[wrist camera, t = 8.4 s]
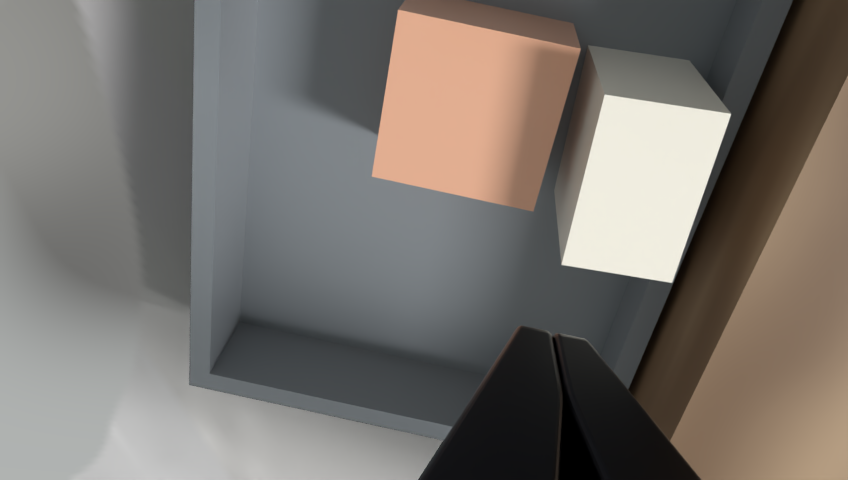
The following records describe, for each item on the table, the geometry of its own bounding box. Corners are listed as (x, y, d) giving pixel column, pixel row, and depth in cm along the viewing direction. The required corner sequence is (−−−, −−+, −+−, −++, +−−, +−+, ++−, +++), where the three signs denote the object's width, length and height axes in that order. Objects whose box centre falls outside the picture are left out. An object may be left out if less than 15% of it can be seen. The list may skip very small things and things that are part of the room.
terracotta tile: (397, 9, 15) (412, -12, 17) (371, 176, 17) (388, 139, 19) (580, 48, 15) (573, 23, 17) (533, 211, 17) (532, 170, 19)
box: (903, -363, 14) (993, -412, 11) (596, 406, 24) (605, 475, 21) (261, -489, 14) (202, -566, 11) (225, 325, 24) (189, 384, 21)
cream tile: (731, 113, 14) (605, 94, 14) (672, 282, 16) (561, 264, 16) (689, 60, 17) (588, 45, 18) (644, 204, 19) (554, 190, 20)
